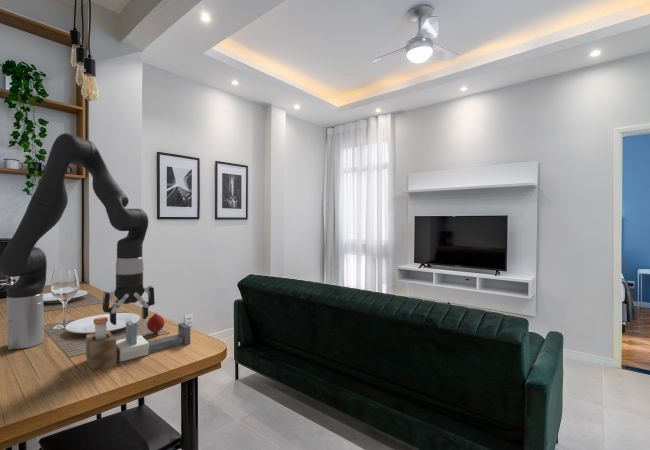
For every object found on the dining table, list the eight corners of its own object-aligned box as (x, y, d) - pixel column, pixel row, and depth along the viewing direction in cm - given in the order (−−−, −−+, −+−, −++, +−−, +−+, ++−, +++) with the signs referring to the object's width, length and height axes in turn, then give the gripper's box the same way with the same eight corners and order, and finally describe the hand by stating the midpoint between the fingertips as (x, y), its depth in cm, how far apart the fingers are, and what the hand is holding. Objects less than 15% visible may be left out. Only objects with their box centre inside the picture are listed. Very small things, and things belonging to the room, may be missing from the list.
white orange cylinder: (94, 348, 99) (94, 321, 99) (92, 344, 102) (92, 318, 101) (109, 345, 101) (108, 319, 101) (106, 341, 104) (106, 316, 104)
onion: (143, 334, 125) (143, 313, 125) (157, 329, 130) (157, 309, 130) (153, 337, 122) (153, 316, 122) (167, 332, 128) (167, 311, 127)
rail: (114, 363, 102) (114, 343, 101) (110, 356, 106) (110, 338, 106) (190, 343, 117) (190, 326, 117) (183, 338, 122) (183, 322, 122)
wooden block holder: (92, 371, 96) (92, 344, 96) (86, 360, 103) (86, 334, 103) (116, 365, 100) (116, 339, 100) (109, 354, 107) (108, 330, 107)
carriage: (120, 362, 101) (120, 330, 101) (113, 353, 108) (113, 322, 107) (149, 355, 107) (149, 324, 106) (141, 346, 113) (140, 317, 113)
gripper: (150, 267, 114) (150, 314, 114) (100, 271, 104) (100, 323, 105) (157, 270, 108) (157, 320, 109) (105, 275, 98) (105, 329, 99)
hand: (129, 321), depth 107 cm, fingers open, 8 cm apart
